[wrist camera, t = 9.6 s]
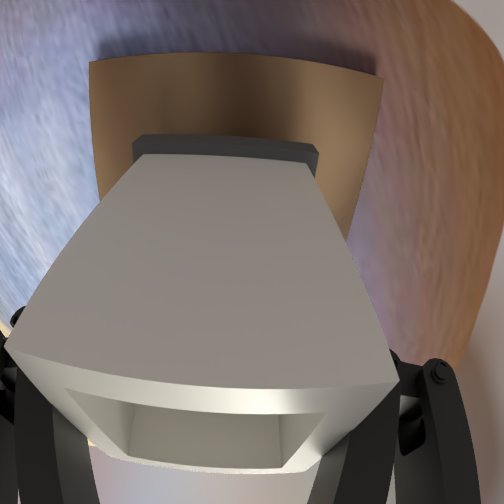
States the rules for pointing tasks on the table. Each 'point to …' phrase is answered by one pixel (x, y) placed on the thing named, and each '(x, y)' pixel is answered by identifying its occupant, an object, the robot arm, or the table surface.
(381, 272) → the table surface
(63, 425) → the robot arm
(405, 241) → the table surface
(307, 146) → the ring
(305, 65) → the peg stacking board
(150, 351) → the sleeve
